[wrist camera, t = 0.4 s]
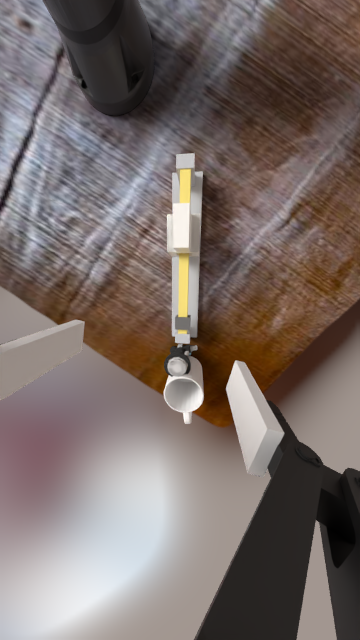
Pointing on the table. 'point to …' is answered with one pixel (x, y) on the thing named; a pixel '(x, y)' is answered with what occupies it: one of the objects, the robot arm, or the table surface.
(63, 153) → the table surface
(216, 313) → the table surface
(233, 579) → the robot arm
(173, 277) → the linear slide rail
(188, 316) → the long yellow bar
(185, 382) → the mug
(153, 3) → the table surface
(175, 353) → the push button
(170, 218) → the white stepped block
